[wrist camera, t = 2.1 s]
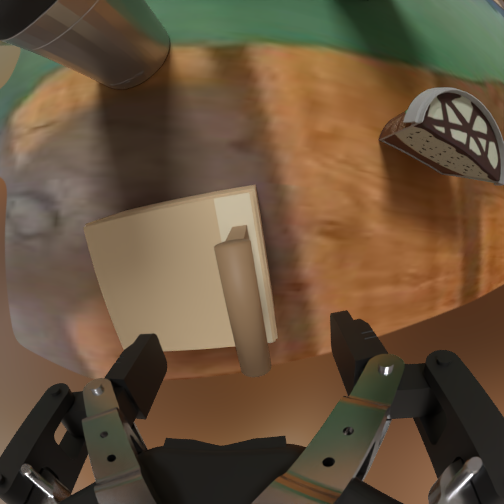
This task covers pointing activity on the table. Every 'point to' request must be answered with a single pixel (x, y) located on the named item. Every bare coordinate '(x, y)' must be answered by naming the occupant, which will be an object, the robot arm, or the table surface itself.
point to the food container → (449, 135)
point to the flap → (188, 278)
